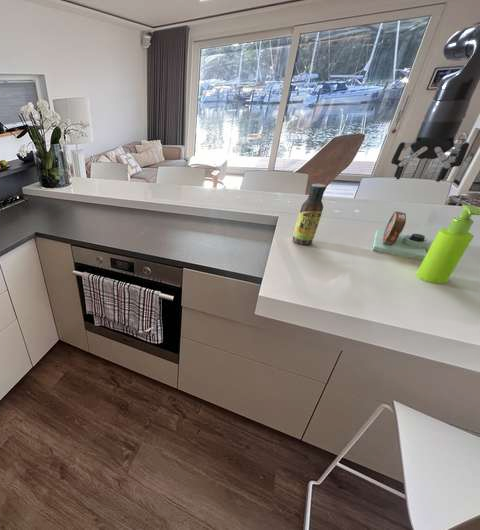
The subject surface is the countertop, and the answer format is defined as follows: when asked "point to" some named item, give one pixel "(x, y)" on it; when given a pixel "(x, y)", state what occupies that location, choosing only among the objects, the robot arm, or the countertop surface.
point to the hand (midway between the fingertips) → (416, 179)
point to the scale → (401, 245)
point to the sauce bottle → (309, 215)
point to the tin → (394, 228)
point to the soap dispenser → (448, 248)
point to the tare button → (417, 237)
